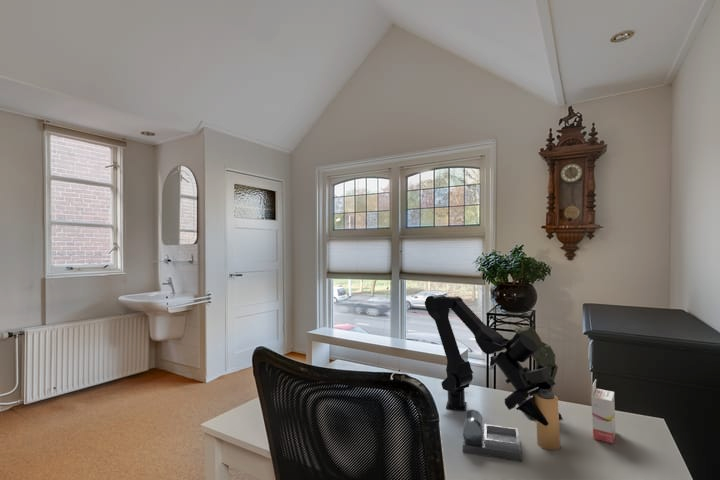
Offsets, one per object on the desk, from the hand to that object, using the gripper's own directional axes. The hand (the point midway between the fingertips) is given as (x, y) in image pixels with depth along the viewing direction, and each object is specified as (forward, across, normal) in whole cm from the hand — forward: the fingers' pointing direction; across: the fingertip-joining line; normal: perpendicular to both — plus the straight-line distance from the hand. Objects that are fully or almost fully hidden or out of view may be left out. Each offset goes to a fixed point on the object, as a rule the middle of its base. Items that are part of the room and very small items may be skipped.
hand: (552, 421), depth 97 cm
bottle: (+4, 0, +6) cm, 7 cm away
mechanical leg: (-4, +16, +14) cm, 21 cm away
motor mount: (-3, -13, +12) cm, 18 cm away
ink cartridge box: (+9, +17, +1) cm, 20 cm away
